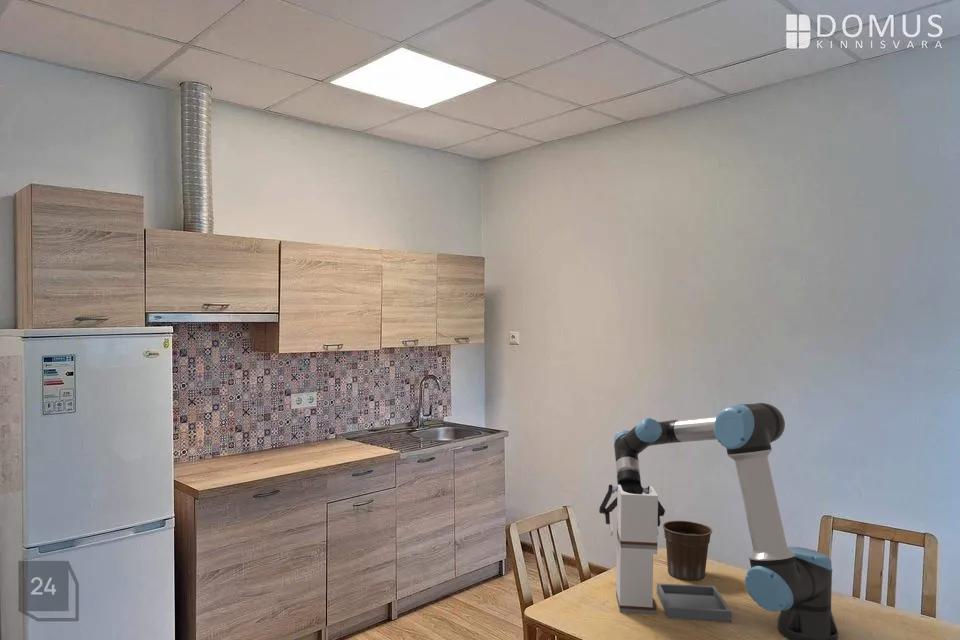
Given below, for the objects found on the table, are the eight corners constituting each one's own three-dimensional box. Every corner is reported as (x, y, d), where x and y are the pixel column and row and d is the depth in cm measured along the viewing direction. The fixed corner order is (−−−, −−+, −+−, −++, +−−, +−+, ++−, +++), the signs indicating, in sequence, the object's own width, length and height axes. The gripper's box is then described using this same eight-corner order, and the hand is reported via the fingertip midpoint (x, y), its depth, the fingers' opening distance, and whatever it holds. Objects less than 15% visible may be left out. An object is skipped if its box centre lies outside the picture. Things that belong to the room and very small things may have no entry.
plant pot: (681, 562, 234) (682, 517, 234) (721, 576, 221) (722, 529, 221) (652, 571, 225) (652, 525, 225) (691, 587, 212) (692, 538, 212)
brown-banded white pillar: (656, 614, 192) (658, 495, 192) (619, 612, 193) (621, 494, 193) (650, 598, 203) (652, 486, 203) (616, 596, 204) (617, 484, 204)
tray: (714, 595, 206) (714, 586, 206) (731, 621, 188) (731, 611, 188) (656, 592, 207) (656, 583, 207) (667, 618, 189) (667, 608, 189)
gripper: (665, 481, 217) (673, 541, 202) (589, 478, 219) (592, 538, 204) (668, 469, 212) (677, 530, 197) (590, 466, 214) (593, 526, 199)
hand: (634, 534), depth 201 cm, fingers open, 13 cm apart
